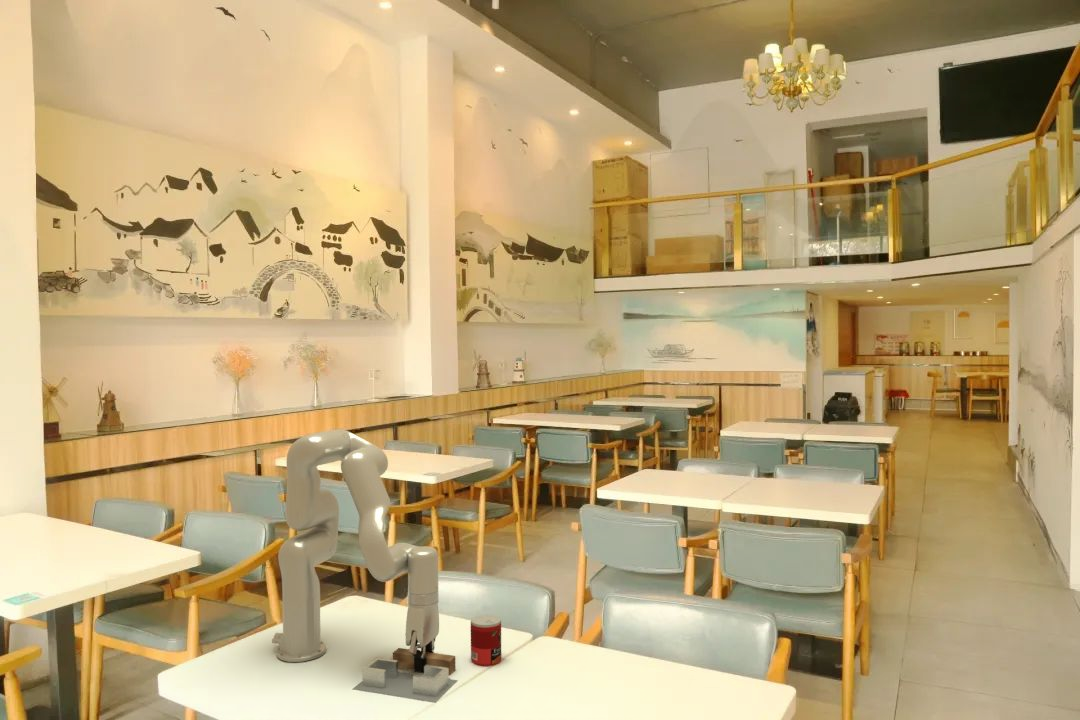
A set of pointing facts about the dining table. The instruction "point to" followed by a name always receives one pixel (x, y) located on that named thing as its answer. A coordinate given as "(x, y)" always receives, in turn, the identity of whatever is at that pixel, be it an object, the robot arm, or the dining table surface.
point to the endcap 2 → (431, 680)
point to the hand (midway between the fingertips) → (424, 668)
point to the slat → (432, 659)
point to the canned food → (486, 640)
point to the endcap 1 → (379, 672)
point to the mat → (403, 688)
